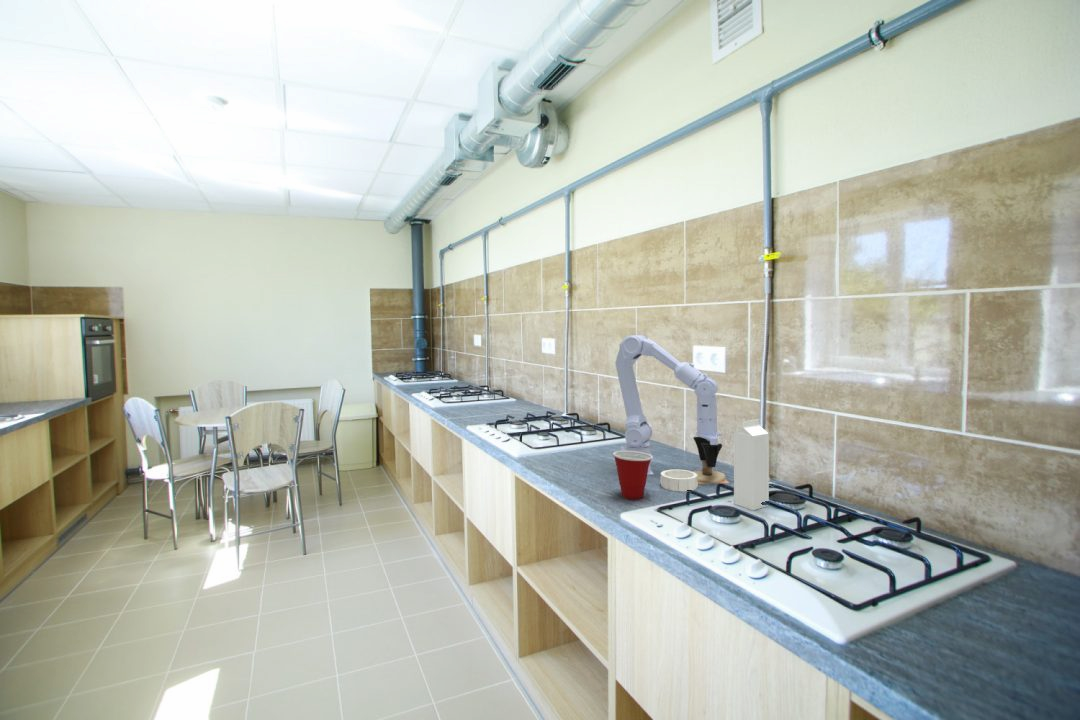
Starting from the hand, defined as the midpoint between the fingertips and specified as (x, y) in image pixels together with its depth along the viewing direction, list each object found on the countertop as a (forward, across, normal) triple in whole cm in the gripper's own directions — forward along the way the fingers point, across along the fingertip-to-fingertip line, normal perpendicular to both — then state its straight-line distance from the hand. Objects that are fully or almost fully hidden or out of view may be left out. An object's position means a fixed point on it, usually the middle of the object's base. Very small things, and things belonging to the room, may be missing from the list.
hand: (707, 463), depth 153 cm
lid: (+4, 0, 0) cm, 5 cm away
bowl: (+5, -7, +10) cm, 13 cm away
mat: (+5, 0, 0) cm, 5 cm away
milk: (+5, -22, -5) cm, 23 cm away
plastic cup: (+5, -14, +24) cm, 28 cm away
